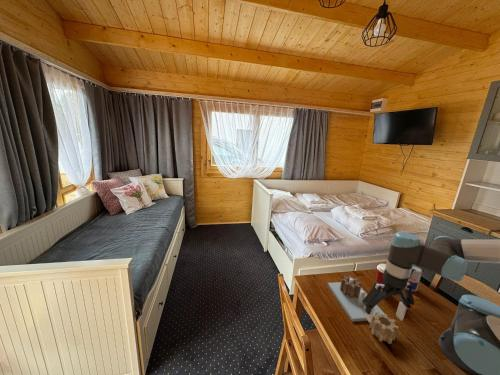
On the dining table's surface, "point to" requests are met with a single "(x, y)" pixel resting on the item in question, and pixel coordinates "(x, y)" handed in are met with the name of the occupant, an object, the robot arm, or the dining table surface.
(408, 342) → the dining table surface
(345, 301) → the gear board
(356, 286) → the walnut gear
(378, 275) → the paper cup
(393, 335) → the beech gear
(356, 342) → the dining table surface
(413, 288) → the energy drink
